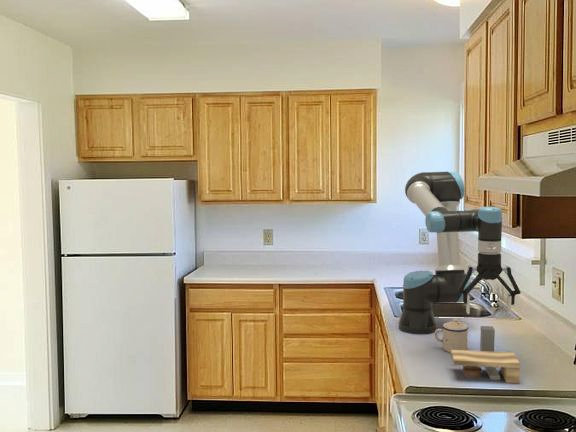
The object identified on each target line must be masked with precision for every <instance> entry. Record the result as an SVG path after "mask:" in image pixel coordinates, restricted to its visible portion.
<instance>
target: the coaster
mask: <svg viewBox="0 0 576 432" xmlns="http://www.w3.org/2000/svg"><path fill="white" fill-rule="evenodd" d="M462 374H463V375H464V376H465V375H466V376H465V377H469V378H473V379H474V378H476V379H477V378H481V377H482V375H483V369H482V367H481V366H463V367H462Z"/></svg>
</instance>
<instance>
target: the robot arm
mask: <svg viewBox="0 0 576 432" xmlns="http://www.w3.org/2000/svg"><path fill="white" fill-rule="evenodd" d="M404 194H405V196H406V198H407V199H408V200H409V202H411V203H412V204H415V205H416V206H417V208H418V209H419V210H420V211H421V213H422V214H423V215H424V216H425V218H424V221H425V227H426V230H427V232H429V233H435V234H436V243H437V260H438V267H436V269H435V270H434V272H435V274H433V272H432V271H430V270H416V271H412V272H408V273H407V274H405V275H404V277H403V284H402V290H403V291H402V292H403V294H402V296H403V298H402V300H403V301H402V306H403V307H402V308H403V309H402V312H401V315H400V318H399V320H398V329H399V330H400V331H402V332H405V333H409V334H412V335H413V334H415V335H427V334H431V333H435V331H436V330H437V322H436V318H435V315H434V312H433V304H448V303H449V304H450V303H451V304H452V303H453V304H457V303H463V304H464V305H466V307H465V313H466V314H467V315H470V311H471V310H470V309H471V308H470V305H471V304H470V303H471V301H470V299H471V296H470V295H471V294H470V293H471V292H472V290H473V289H474V288H475V287H476V286H477V285H478V283H479V282H481V281H482V280H484V281H488V280H490V281H495V280H496V279H497V280H498V281H499V282H500V284H501V285H502V286H503V287H504V289H506V291H507V292H508V294H507V298H506V299H507V300H506V301H507V304H506V306H507V307H506V311H507V312H506V314H507V315H508V316H512V306H514V305H515V302H516V301H515V299H516V295H521V290H520V288H519V286H518V284H517V282H516V280H515V278H514V276H513V274H512V268H511V267H510V266H509V265H507V266H504V267H502V254H501V252H502V237H503V235H502V234H503V233H502V232H503V231H502V230H503V211H502V209H501V207H499V206H481V207H479V209H478V208H477V209H476V208H475V209H474V208H473V209H468V210H457V207H458V206H459V205H461V204H460V203H461V202H460V201H461V200H463V198H464V197H465V183H464V180H463V178H462V176H461V175H460V173H458V172H455V171H431V172H430V171H429V172H428V171H427V172H424V171H423V172H418V173H416V174H414V175H412V176H411V177H410V178H409V179H408V181H406V184H405V187H404ZM465 232H466V233H468V232H471V233H472V232H478V236H477V239H478V240H477V251H478V253H477V266H472V265H468V266H467V272H465V268H464V267H463V266H461V258H460V257H461V256H460V243H459V233H465ZM475 271H476V272H477V273H478V274H476V276H475V277H474V279H472V281H471V277H472V274H474V273H475ZM502 272H504V273H505V274H506V275H507V278H508V279H509V281H510V283H511V285H512V287H513V289H511V287H510V286H509V285H508V284H507V283H506V282H505V280H504V279H503V278H502V277H501V276H500V275H501V274H502Z"/></svg>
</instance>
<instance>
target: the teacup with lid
mask: <svg viewBox="0 0 576 432" xmlns="http://www.w3.org/2000/svg"><path fill="white" fill-rule="evenodd" d="M468 330H469V327H468V325H467V324H466V323H464V322H461V321H460V320H459V319H458V318H455V317H454V318H453V319H452V320H450V321H448V322H444V323H443V324H442V328H436V331H435V332H433V333H434V334H433V335H434V338H435V340H436V341H437V342H439V343H442V350H443V351H445V352H448V353H451V350H468V336H469V335H468V332H469V331H468ZM438 332H442V339H440V338H439V337H438V335H437V333H438Z"/></svg>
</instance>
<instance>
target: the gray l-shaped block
mask: <svg viewBox="0 0 576 432" xmlns="http://www.w3.org/2000/svg"><path fill="white" fill-rule="evenodd" d="M495 333H496V331H495V328H494V326H492V325H480V342H479V344H480V345H479V346H480V347H479V349H480V350H479V351H495V337H496V335H495ZM484 368H485V371H486V373H487V376H488V377H489V380H492V381H493V380H495V381H501V375H500V373H499V371H498V369H497V367H485V366H484Z"/></svg>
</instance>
